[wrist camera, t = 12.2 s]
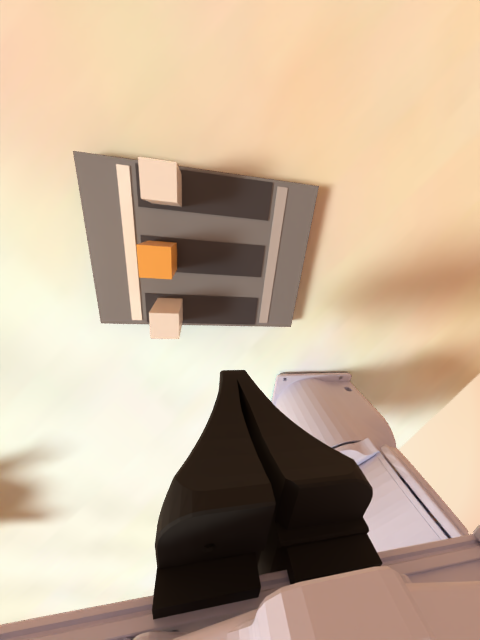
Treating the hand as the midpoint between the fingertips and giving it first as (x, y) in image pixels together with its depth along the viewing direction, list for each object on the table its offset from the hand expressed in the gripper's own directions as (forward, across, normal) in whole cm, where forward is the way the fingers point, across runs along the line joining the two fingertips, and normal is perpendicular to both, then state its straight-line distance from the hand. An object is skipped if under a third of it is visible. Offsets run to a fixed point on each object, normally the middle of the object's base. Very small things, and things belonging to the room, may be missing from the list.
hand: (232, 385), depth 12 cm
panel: (+10, +2, -6) cm, 12 cm away
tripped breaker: (+9, +5, -6) cm, 11 cm away
